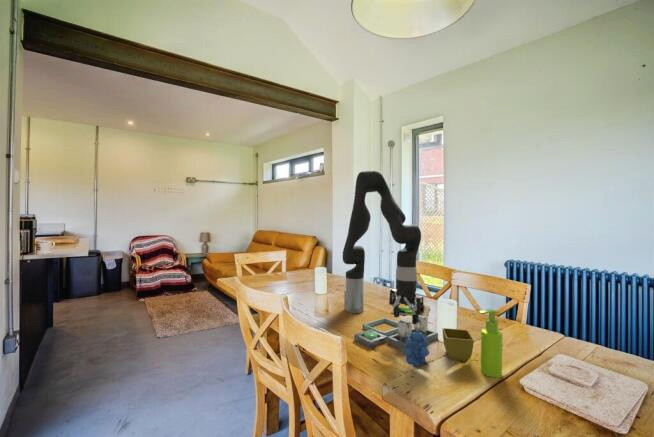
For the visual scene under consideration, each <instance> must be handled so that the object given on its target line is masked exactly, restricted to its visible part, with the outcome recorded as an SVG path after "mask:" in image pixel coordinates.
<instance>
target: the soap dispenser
mask: <svg viewBox="0 0 654 437" xmlns="http://www.w3.org/2000/svg"><path fill="white" fill-rule="evenodd" d="M478 313H480V314H481V315H485V314H488V318H487V319H485V328H482V329H481V331H480V332H481V336H480V342H481V343H480V372H481V373H482V374H483V375H485V376H487V375H488V376H487V377H489V376H490V378H495V377H496V378H501V377H502V376H503V375H502V374H503V372H502V370H503V332H501V331H500V330H499V322H498V320H496V314H499V311H497V310H496V309H490V308H489V309H488V308H487V309H485V308H484V309H481V310H478Z"/></svg>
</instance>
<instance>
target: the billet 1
mask: <svg viewBox="0 0 654 437" xmlns="http://www.w3.org/2000/svg"><path fill="white" fill-rule="evenodd" d="M397 322H398V332H397V334H398V340H399V341H401V342H404V343H405V340H406V339H407V338H411V337H410V334H411V333H412V328H413V324H412V321H411V320H407V319H400V320H398V321H397Z"/></svg>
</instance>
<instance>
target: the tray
mask: <svg viewBox="0 0 654 437" xmlns="http://www.w3.org/2000/svg"><path fill="white" fill-rule="evenodd" d="M383 323H384V324H385V323H386V324H389V325H392V326H394V327H395V328H391V329H389V330H386V331H381V330H379V329H376V328H375V327H374V326H378V325H381V324H383ZM370 329H371V330H374V331H376V332H378V333H380V334H383V335H385V336H387V337H389V336H392V335H395V334H398V321H395V320H393V319H391V318H387V317H382V318H379V319H375V320H373V321H369V322H366V323H363V324H362V330H365V331H367V330H370Z"/></svg>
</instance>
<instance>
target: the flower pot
mask: <svg viewBox="0 0 654 437" xmlns="http://www.w3.org/2000/svg"><path fill="white" fill-rule="evenodd" d="M442 338H443V340H442V341H443V346H444V349H445V351H446V354H447V357H448V359H449V360H455V361H456V360H457V361H460V363H464V364H465V363H468V362H469V360H470V359H471V357H472V354H473V350H474V342H475V339H474V337H473V335H471V333H470V332H469V330H468V329H458V328H446V327H444V328H442Z"/></svg>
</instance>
